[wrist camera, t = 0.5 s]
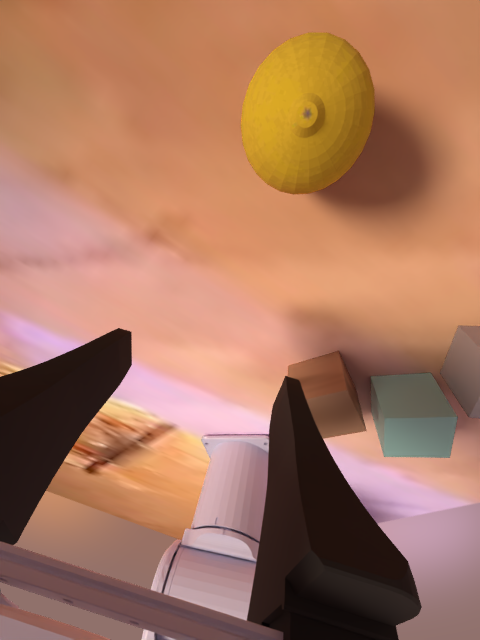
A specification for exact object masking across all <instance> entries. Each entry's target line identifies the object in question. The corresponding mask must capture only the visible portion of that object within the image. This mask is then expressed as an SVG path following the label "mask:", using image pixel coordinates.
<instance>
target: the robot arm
mask: <svg viewBox="0 0 480 640" xmlns="http://www.w3.org/2000/svg"><path fill="white" fill-rule="evenodd" d="M131 365H132V352H131V332H130V331H127V330H123V329H120V328H118V329H116V330H114V331H111V332H109V333H107V334H105V335H103V336H101V337H99V338H97V339H95V340H93V341H91V342H89V343H87V344H85V345H82V346H80V347H78V348H76V349H74V350H72V351H69V352H67V353H65V354H62V355H60V356H58V357H55V358H53V359H51V360H48V361H46V362H43V363H41V364H38V365H35V366H32V367H30V368H27V369H24V370H21V371H18V372H15V373H12V374H8V375H5V376H1V377H0V582H2V583H5V584H8V585H11V586H14V587H17V588H20V589H23V590H26V591H29V592H32V593H35V594H38V595H42V596H45V597H48V598H51V599H54V600H57V601H60V602H63V603H66V604H69V605H72V606H75V607H78V608H81V609H84V610H87V611H90V612H93V613H96V614H100V615H103V616H105V617H109V618H112V619H115V620H118V621H121V622H124V623H127V624H130V625H133V626H136V627H139V628H142V629H144V631H143V636H142V640H399V639H398V635H397V630H396V625H398V624H400V623H403V622H405V621H407V620H410V619H412V618H414V617H415V616H417V615H418V614H419V612H420V610H421V603H420V600H419V596H418V593H417V589H416V585H415V581H414V578H413V575H412V573H411V570H410V567H409V564H408V561H407V560H406V559H405V557H404V556H403V555H402V554H401V552H400V551H399V550H398V549H397V548H396V546H395V545H394V544H393V543H392V542H391V540H390V539H389V538H388V537H387V536H386V534H385V533H384V532H383V531H382V530H381V528H380V527H379V526H378V525H377V523H376V522H375V521H374V519H373V518H372V517H371V515H370V514H369V513H368V511H367V510H366V509H365V507H364V506H363V504H362V503H361V502H360V500H359V499H358V497H357V496H356V494H355V493H354V491H353V490H352V488H351V487H350V485H349V484H348V482H347V481H346V479H345V478H344V476H343V474H342V473H341V471H340V470H339V468H338V466H337V464H336V463H335V461H334V459H333V457H332V456H331V454H330V452H329V450H328V448H327V446H326V444H325V442H324V440H323V438H322V436H321V434H320V432H319V430H318V427H317V425H316V423H315V420H314V418H313V416H312V413H311V411H310V408H309V406H308V403H307V400H306V397H305V395H304V392H303V389H302V386H301V382H300V381H299V380H298V379H295V378H291V377H288V376H285V378H284V381H283V383H282V386H281V388H280V390H279V393H278V395H277V397H276V400H275V402H274V405H273V408H272V415H271V421H270V429H269V436H267V435H218V436H203V437H202V439H201V440H202V443H203V445H204V447H205V449H206V451H207V453H208V455H209V457H210V462H209V466H208V469H207V473H206V476H205V480H204V483H203V487H202V490H201V494H200V498H199V501H198V505H197V508H196V512H195V515H194V519H193V522H192V526H191V529H187V528H186V529H185V532H184V535H183V539H182V540H179V539H178V540H175V541H174V542H173V544H172V545H171V546H170V547H168V548H167V550H166V551H165V553H164V555H163V557H162V559H161V561H160V563H159V566H158V569H157V571H156V574H155V577H154V580H153V584H152V587H151V590H150V589H147V588H144V587H141V586H138V585H134V584H131V583H128V582H125V581H122V580H119V579H116V578H112V577H110V576H106V575H103V574H100V573H97V572H94V571H91V570H88V569H84V568H82V567H79V566H75V565H72V564H69V563H66V562H63V561H60V560H57V559H53V558H51V557H47V556H44V555H41V554H38V553H35V552H32V551H29V550H26V549H23V548H19V547H16V546H13V545H14V544H15V543H17V541H18V540H19V538H20V536H21V534H22V532H23V530H24V528H25V526H26V525H27V523H28V521H29V519H30V517H31V516H32V514H33V512H34V510H35V508H36V507H37V505H38V503H39V501H40V499H41V498H42V496H43V494H44V493H45V491H46V489H47V488H48V486H49V484H50V482H51V481H52V479H53V477H54V476H55V474H56V472H57V471H58V469H59V468H60V466H61V464H62V463H63V461H64V460H65V458H66V456H67V455H68V453H69V452H70V450H71V449H72V447H73V446H74V444H75V442H76V441H77V439H78V438H79V436H80V435H81V433H82V432H83V431H84V429H85V428H86V427H87V425H88V424H89V423H90V421H91V420H92V419H93V418H94V416H95V415H96V414H97V413H98V411H99V410H100V409H101V408H102V406H103V405H104V404H105V403H106V401H107V400H108V399H109V398H110V396H111V395H112V394H113V392H114V391H115V390H116V389H117V387H118V386H119V385H120V383H121V382H122V380H123V379H124V377H125V375H126V374H127V372H128V370H129V369H130V367H131ZM0 640H110V639H108V638H105V637H103V636H100V635H97V634H94V633H91V632H89V631H86V630H83V629H80V628H77V627H75V626H72V625H68V624H65V623H62V622H59V621H56V620H53V619H50V618H47V617H44V616H41V615H37V614H34V613H31V612H27V611H24V610H21V609H18V606H17V605H15V604H14V603H13V602H11V601H10V600H8V599H7V598H6V597H5V596H4V595H3V594H2V593H1V590H0Z"/></svg>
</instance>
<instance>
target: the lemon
mask: <svg viewBox="0 0 480 640" xmlns="http://www.w3.org/2000/svg"><path fill="white" fill-rule="evenodd" d="M374 112H375V102H374V87H373V83H372V79H371V75H370V71H369V68H368V67H367V65H366V63H365V62H364V60H363V58H362V56H361V55H360V53H359V52H358V51H357V50H356V49H355V48H354V47H353V46H351V45H350V44H349V43H348V42H347V41H346V40H345V39H342V38H340V37H337V36H335V35H332V34H330V33H306V34H303V35H300V36H297V37H294V38H290V39H289V40H287V41H286V42H284V43H283V44H282V45H280V46H279V47H277V48H276V49H274V50H273V51H272V52H271V53H270V54H269V56H268V57H267V58H266V59H265V60H264V61H263V62H262V64H261V65H260V66H259V67H258V69H257V71H256V73H255V75H254V77H253V78H252V80H251V82H250V84H249V86H248V90H247V93H246V96H245V99H244V102H243V108H242V118H241V132H242V141H243V146H244V149H245V152H246V155H247V158H248V161H249V162H250V164H251V166H252V167H253V169H254V171H255V172H256V174H257V175H258V176H259V177H260V178H261V179H262V180H263V181H264V182H265V183H267V184H268V185H270V186H271V187H273V188H275V189H277V190H279V191H281V192H285V193H290V194H309V193H312V192H315V191H318V190H322V189H324V188H326V187H328V186H329V185H331V184H332V183H334V182H336V181H337V180H339V179H340V178H341V177H342V176H343V175H344V174H345V173H346V172H347V171H348V170H349V169H350V168H351V167H352V166H353V164H354V163H355V161H356V160H357V158H358V157H359V155H360V154H361V152H362V151H363V148H364V146H365V144H366V141H367V139H368V137H369V134H370V132H371V127H372V122H373V117H374Z"/></svg>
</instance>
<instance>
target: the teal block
mask: <svg viewBox="0 0 480 640" xmlns="http://www.w3.org/2000/svg"><path fill="white" fill-rule="evenodd" d="M371 412H372V416H373V420H374V423H375V426H376V430H377V433H378V437H379V440H380V444H381V447H382V451H383V454H384V457H435V458H450V454H451V449H452V444H453V439H454V434H455V428H456V423H457V418H458V417H457V415H456V413H455V412H454V410H453V408H452V407H451V405H450V403H449V402H448V400H447V399H446V397H445V395H444V394H443V392H442V390H441V389H440V387H439V385H438V384H437V382H436V380H435V379H434V377H433V376H432V374H431V373H418V374H401V375H385V376H371Z"/></svg>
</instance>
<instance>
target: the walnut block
mask: <svg viewBox="0 0 480 640" xmlns="http://www.w3.org/2000/svg"><path fill="white" fill-rule="evenodd" d="M288 377H291V378H295V379H298V380H299V381H300V382H301V386H302V389H303V392H304V395H305V397H306V400H307V403H308V406H309V408H310V411H311V413H312V416H313V418H314V420H315V423H316V425H317V427H318V430H319V432H320V434H321V436H322V438H329V437H335V436H340V435H346V434H352V433H357V432H363V431H366V427H365V423H364V419H363V415H362V411H361V407H360V403H359V399H358V395H357V391H356V388H355V386H354V384H353V382H352V379H351V377H350V375H349V373H348V371H347V368H346V366H345V364H344V362H343V360H342V358H341V355H340V353H339V351H337V352H333V353H330V354H327V355H323V356H320V357H316V358H313V359H310V360H306V361H303V362H299V363H296V364H293V365H289V366H288Z"/></svg>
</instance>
